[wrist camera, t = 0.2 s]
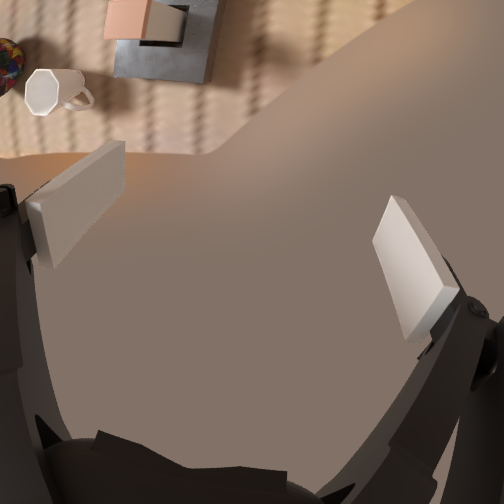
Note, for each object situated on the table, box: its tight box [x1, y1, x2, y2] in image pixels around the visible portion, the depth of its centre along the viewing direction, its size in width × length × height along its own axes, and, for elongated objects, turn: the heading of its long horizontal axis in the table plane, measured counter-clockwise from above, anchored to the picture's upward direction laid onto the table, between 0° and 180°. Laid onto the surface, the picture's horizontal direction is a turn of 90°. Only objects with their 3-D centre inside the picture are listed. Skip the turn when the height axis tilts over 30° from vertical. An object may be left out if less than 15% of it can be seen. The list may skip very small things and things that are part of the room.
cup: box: [25, 69, 94, 116], centre depth 33 cm, size 7×10×8 cm
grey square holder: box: [113, 0, 226, 84], centre depth 30 cm, size 14×12×4 cm
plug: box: [103, 0, 188, 42], centre depth 26 cm, size 4×4×14 cm
